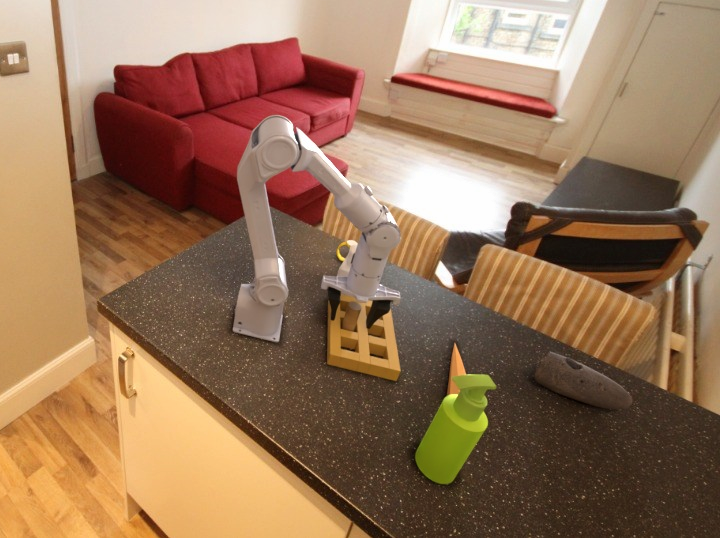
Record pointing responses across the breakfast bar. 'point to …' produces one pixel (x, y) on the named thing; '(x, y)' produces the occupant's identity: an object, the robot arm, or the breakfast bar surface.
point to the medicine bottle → (347, 264)
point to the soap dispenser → (455, 429)
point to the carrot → (455, 371)
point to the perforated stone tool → (580, 383)
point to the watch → (348, 243)
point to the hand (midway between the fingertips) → (349, 321)
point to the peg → (351, 316)
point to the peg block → (363, 343)
